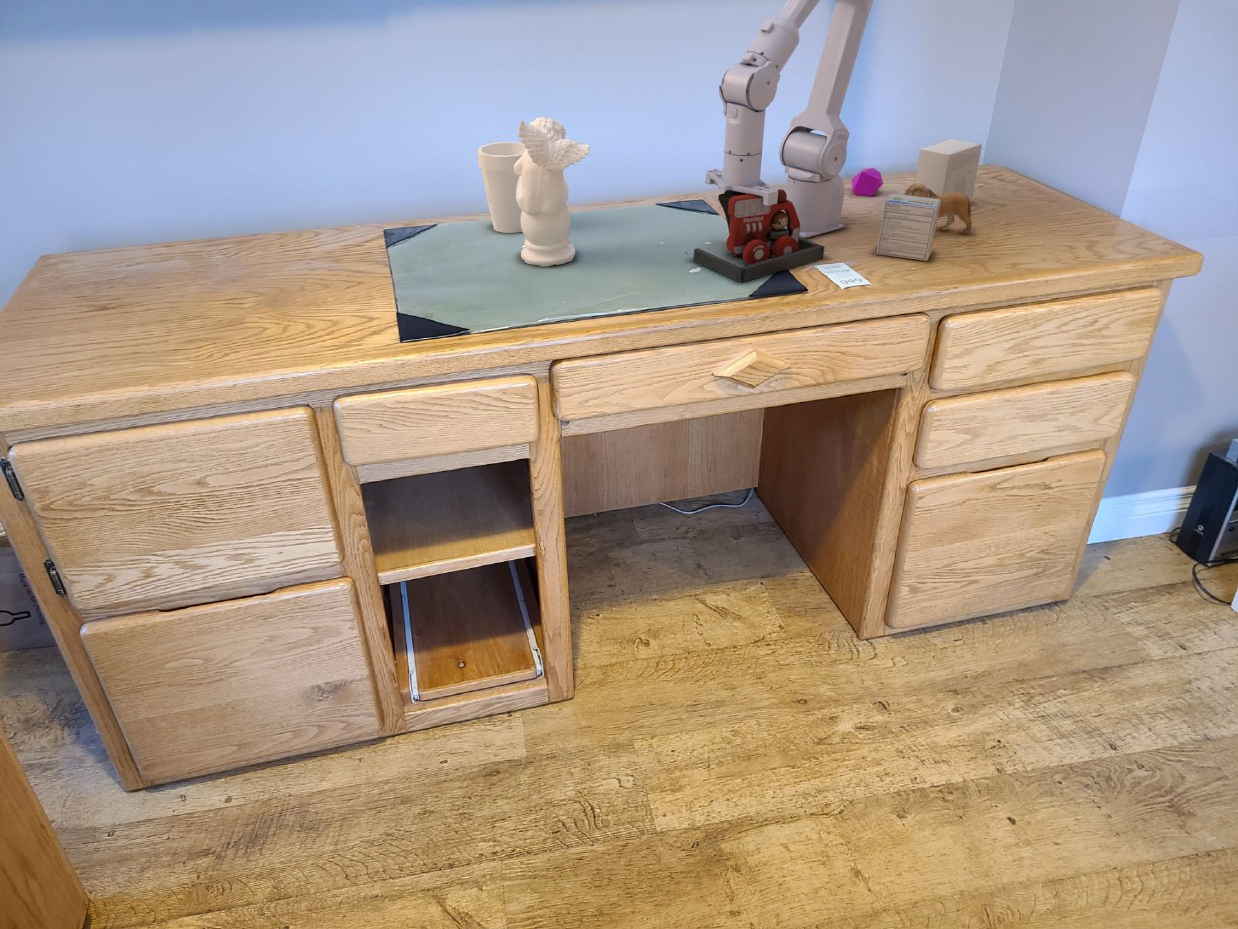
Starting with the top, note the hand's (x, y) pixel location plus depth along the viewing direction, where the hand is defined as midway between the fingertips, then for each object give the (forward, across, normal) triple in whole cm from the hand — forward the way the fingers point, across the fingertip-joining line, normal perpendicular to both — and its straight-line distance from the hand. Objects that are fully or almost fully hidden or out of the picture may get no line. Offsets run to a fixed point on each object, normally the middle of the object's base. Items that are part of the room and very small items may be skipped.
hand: (736, 238), depth 142 cm
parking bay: (+2, +5, 0) cm, 6 cm away
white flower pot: (+2, -31, -24) cm, 39 cm away
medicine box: (+2, +17, +20) cm, 27 cm away
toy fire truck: (+2, +5, +1) cm, 6 cm away
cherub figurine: (+2, -13, -26) cm, 29 cm away
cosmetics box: (+2, +4, +46) cm, 46 cm away
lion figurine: (+2, +14, +32) cm, 34 cm away
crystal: (+2, -9, +40) cm, 42 cm away
